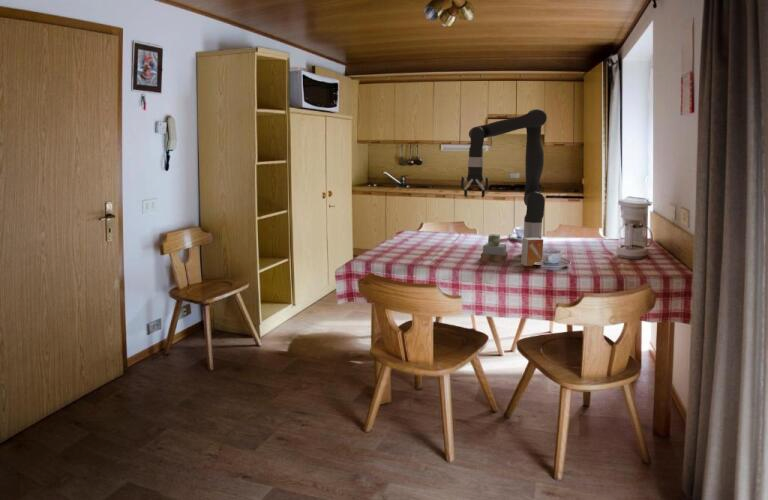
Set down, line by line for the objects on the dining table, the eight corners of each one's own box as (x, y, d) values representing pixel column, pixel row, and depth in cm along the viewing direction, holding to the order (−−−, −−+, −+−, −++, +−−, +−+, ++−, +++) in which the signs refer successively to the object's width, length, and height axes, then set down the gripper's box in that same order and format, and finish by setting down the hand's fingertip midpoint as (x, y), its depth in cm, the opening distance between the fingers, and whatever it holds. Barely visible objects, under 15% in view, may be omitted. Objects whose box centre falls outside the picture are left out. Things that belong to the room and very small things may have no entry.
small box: (526, 266, 290) (528, 239, 288) (520, 264, 296) (522, 237, 294) (542, 265, 292) (543, 239, 290) (536, 263, 298) (537, 237, 296)
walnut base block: (507, 259, 310) (507, 251, 309) (504, 263, 299) (505, 255, 298) (483, 257, 313) (484, 250, 313) (480, 262, 302) (480, 254, 301)
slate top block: (506, 251, 309) (506, 244, 308) (502, 255, 299) (503, 247, 299) (486, 250, 312) (486, 243, 311) (482, 254, 303) (483, 246, 302)
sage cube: (499, 244, 307) (499, 234, 306) (498, 246, 302) (498, 236, 301) (489, 243, 308) (490, 234, 307) (488, 245, 304) (488, 235, 303)
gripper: (490, 165, 315) (488, 197, 318) (463, 165, 320) (462, 196, 322) (488, 166, 308) (487, 198, 311) (460, 166, 313) (459, 197, 315)
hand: (474, 197), depth 317 cm, fingers open, 8 cm apart
